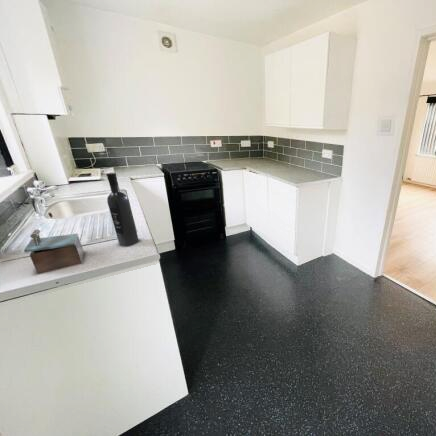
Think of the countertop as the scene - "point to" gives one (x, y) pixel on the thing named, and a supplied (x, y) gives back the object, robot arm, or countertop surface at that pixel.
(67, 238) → the lid
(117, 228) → the wine bottle
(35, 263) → the chest
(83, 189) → the countertop surface
